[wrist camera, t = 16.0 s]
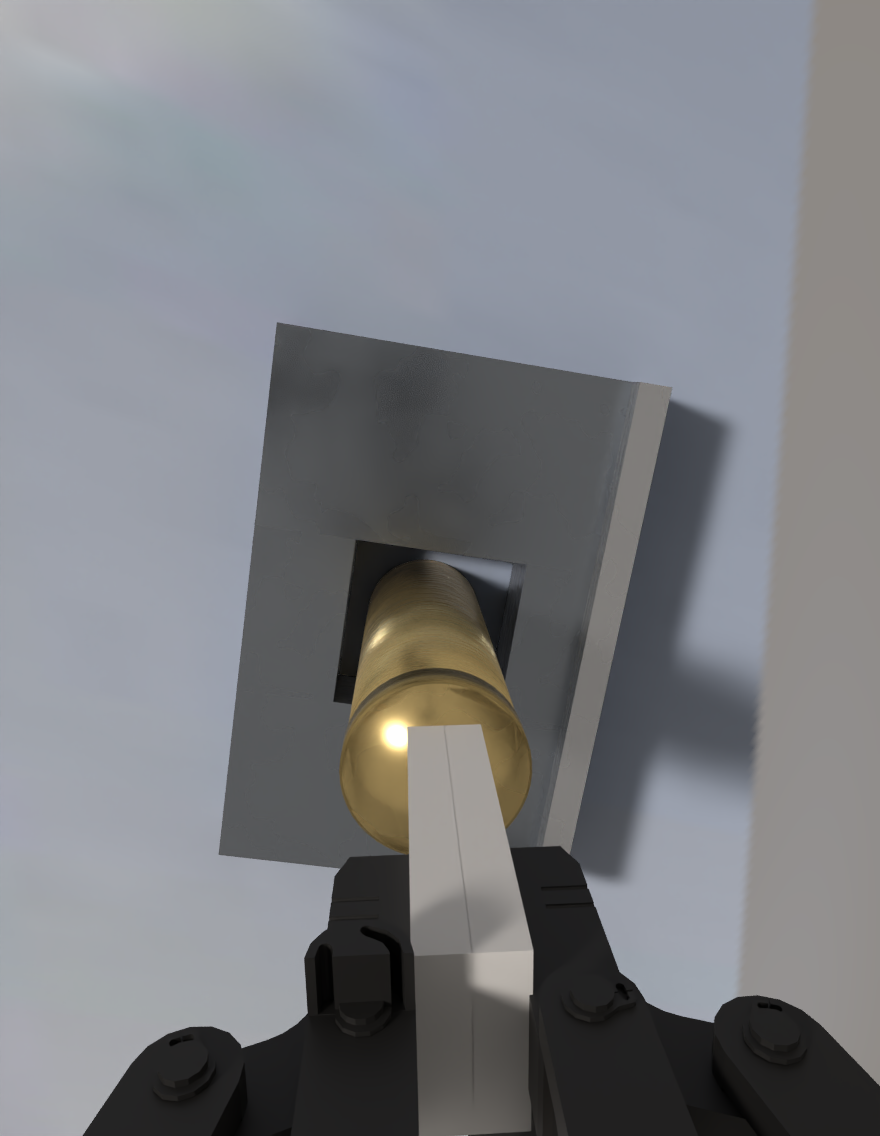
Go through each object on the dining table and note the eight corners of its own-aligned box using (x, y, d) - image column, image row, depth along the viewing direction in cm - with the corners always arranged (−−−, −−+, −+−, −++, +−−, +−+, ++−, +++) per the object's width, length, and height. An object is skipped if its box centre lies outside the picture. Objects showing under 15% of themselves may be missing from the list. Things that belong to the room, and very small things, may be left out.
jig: (288, 328, 26) (272, 320, 23) (639, 387, 27) (672, 387, 24) (233, 816, 30) (213, 868, 27) (541, 852, 31) (558, 906, 28)
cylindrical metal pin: (375, 550, 28) (353, 668, 16) (488, 567, 28) (548, 695, 16) (359, 659, 29) (327, 846, 17) (469, 674, 29) (513, 868, 17)
